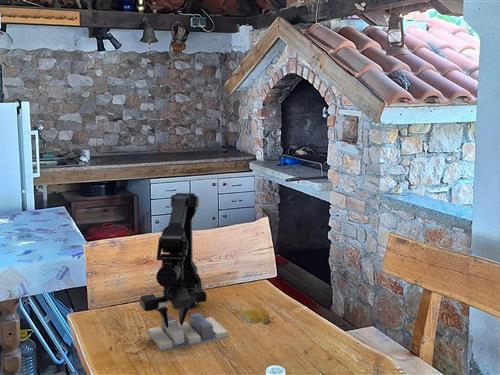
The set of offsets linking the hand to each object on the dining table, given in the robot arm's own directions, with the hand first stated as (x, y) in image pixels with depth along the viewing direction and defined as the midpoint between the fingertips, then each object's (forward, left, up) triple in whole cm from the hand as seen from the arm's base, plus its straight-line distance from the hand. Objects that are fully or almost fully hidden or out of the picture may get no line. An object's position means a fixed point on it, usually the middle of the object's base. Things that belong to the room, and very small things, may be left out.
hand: (174, 326), depth 167 cm
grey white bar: (0, 0, -3) cm, 3 cm away
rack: (0, +4, -4) cm, 6 cm away
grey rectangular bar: (0, +8, -4) cm, 9 cm away
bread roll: (-3, +28, -5) cm, 29 cm away
